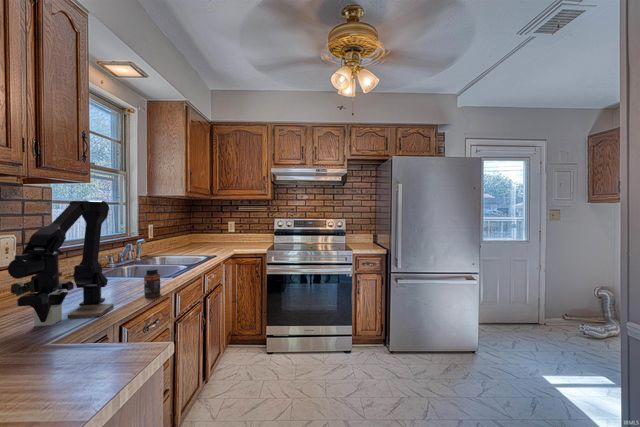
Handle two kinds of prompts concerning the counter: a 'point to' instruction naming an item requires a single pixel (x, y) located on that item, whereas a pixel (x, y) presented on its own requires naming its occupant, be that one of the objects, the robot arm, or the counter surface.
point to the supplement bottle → (152, 283)
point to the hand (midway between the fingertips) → (48, 318)
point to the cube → (49, 316)
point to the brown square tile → (90, 310)
